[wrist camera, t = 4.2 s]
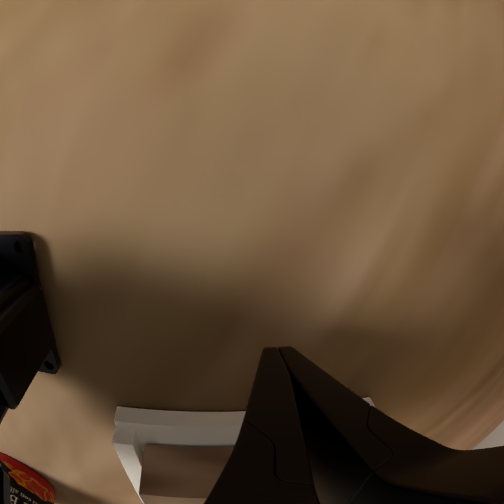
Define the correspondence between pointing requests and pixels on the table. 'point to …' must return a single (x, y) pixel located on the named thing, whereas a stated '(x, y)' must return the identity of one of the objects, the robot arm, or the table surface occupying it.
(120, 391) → the table surface
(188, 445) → the track
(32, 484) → the canned food
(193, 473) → the block
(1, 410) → the robot arm
